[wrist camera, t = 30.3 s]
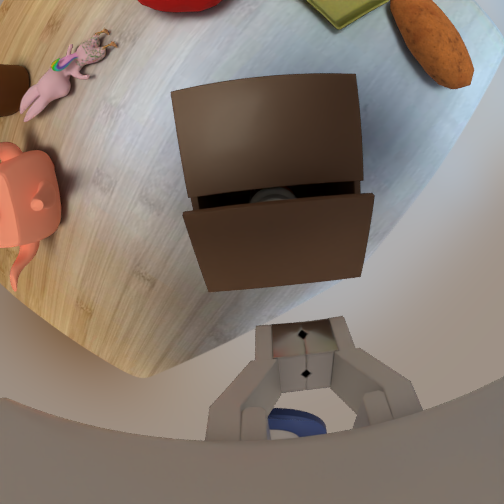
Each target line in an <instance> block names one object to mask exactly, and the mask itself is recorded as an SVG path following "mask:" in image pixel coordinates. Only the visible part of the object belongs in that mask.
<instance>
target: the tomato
mask: <svg viewBox="0 0 504 504" xmlns="http://www.w3.org/2000/svg"><path fill="white" fill-rule="evenodd" d="M138 1H139V2H140V3H141V4H143V5H145V6H148V7H150V8H152V9H155V10H159V11H164V12H198V11H202V10H205V9H208V8H211V7H213V6H216V5H217V4H218V3H220V2H221V1H222V0H138Z"/></svg>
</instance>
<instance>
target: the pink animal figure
mask: <svg viewBox="0 0 504 504" xmlns="http://www.w3.org/2000/svg"><path fill="white" fill-rule="evenodd" d="M101 33H107V34H108V33H109V32H108V29H105V28H104V29H103V31H101V32H97V33H95V35H94V36H93V37H91V38H90V39H88V40H86V41H84V42H83V43H82V44H80V46H79V47H78V48H77V51H76V53H74V54H71V50H72V48H73V44H70V45H69V47H68V50H67V54H66V56H65V57H63V58H61V59H60V58H59V59H60V60H59V59H57V60H55V61H54V62H53V63H52V65H51V67H50V68H49V70H48V71H47V72H46V73H45V74H44V75H43V76H42V77H41V78H40V80H39V82H38V83H37V84H35V85H33V86H32V87H30V88H29V89H28V91H27V92H26V93H25V95H24V96H23V98H22V101H21V105H20V114H22V113H23V112H24V111H25V110H26V109H27V108H28V107H29V106H30V105H31V104H32V103H33V102H34V101H35V100H36V99H37V98H38V97H39V96H40V97H39V98H38V99H37V100H36V101H35V102H34V103H33V104H32V106H31V107H30V108H29V110H28V111H27V114H26V116H25V118H24V122H27V121H29V120H30V119H32V118H33V117H35V116H36V115H37V114H39V113H40V112H41V111H42V110H43V109H44V108H45V107H46V106H47V105H48V103H49V102H51V101H52V100H55V99H58V98H60V97H64V96H66V95H67V94H68V93H69V91H70V87H71V85H70V81H69V79H70V75H72V76H74V77H76V78H79V79H89V77H90V76H89V75H82V74H80V72H79V71H80V70H81V68H82V67H83V66H84V65H86V64H91V63H95V62H98V61H100V60H102V59H103V58H104V57H105V55H106V48H107V47H108V46H111V45H112V46H114V47H116V44H115V43H114V42H112V41H111V43H110V44H108V45H106V46H103V47H99V46H100V40H99V35H100V34H101ZM108 35H110V34H108Z"/></svg>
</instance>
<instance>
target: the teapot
mask: <svg viewBox="0 0 504 504" xmlns="http://www.w3.org/2000/svg"><path fill="white" fill-rule="evenodd" d="M0 159H1V161H2V162H1V163H0V248H6V247H16V246H20V250H19V254H18V257H17V259H16V260H15V262H14V264H13V266H12V268H11V271H10V282H11V285H12V288H13V290H14V291H15V292H16V291H17V282H18V277H19V274H20V273H21V271H22V270H23V268H24V267H25V266H26V265H27V264H28V263H29V262H30V261H31V260H32V259H33V258H34V256H35V255H36V253H37V251H38V247H39V242H40V240H42V239H44V238H46V237H48V236H50V235H51V234H53V233H54V232H55V231H56V230H57V228H58V226H59V223H60V220H61V209H62V205H61V202H60V193H59V187H58V182H57V178H56V174H55V166H54V164H53V162H52V161H51V159H50V157H49V156H48V154H46V153H45V152H43V151H39V150H34V151H28V152H22V151H21V150H20V148H19V147H18V146H17V145H15V144H13V143H10V142H0Z"/></svg>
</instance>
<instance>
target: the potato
mask: <svg viewBox="0 0 504 504" xmlns="http://www.w3.org/2000/svg"><path fill="white" fill-rule="evenodd" d="M390 10H391V12H392V15H393V17H394V19H395V21H396V24H397V26H398V28H399V30H400V32H401V34H402V37H403V39H404V41H405V43H406V46H407V47H408V49H409V50H410V52H411V53H412V55H413V56H414V57H415V58H416V60H417V61H418V62H419V63H420V65H421V66H422V67H423V69H424V70H425V72H426V73H427V74H428V75H429V76H430V77H431V78H432V79H433V80H434V81H436V82H437V83H438V84H439V85H441V86H444V87H447V88H450V89H458V88H462V87H465V86H469V85H470V84H471V80H472V76H473V72H474V67H473V64H472V61H471V58H470V56H469V53H468V51H467V49H466V46H465V44H464V42H463V40H462V38H461V36H460V34H459V33H458V31H457V30H456V28H455V27H454V25H453V24H452V23H451V21H450V20H449V19H448V17H447V16H446V15H445V14H444V13H443V11H442V10H441V9H440V8H439V7H438V6H437V5H436V4H435V3H434V2H433V1H432V0H390Z"/></svg>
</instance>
